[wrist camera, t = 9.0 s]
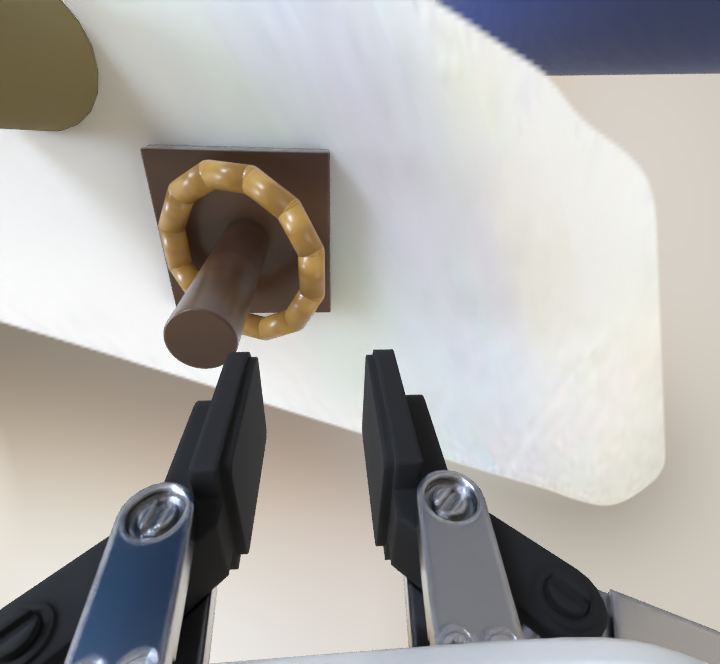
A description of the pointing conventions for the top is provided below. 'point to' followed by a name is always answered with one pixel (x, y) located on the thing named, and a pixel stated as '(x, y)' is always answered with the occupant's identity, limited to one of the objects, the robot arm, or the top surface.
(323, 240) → the rack
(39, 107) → the cork
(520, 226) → the top surface
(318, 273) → the ring
